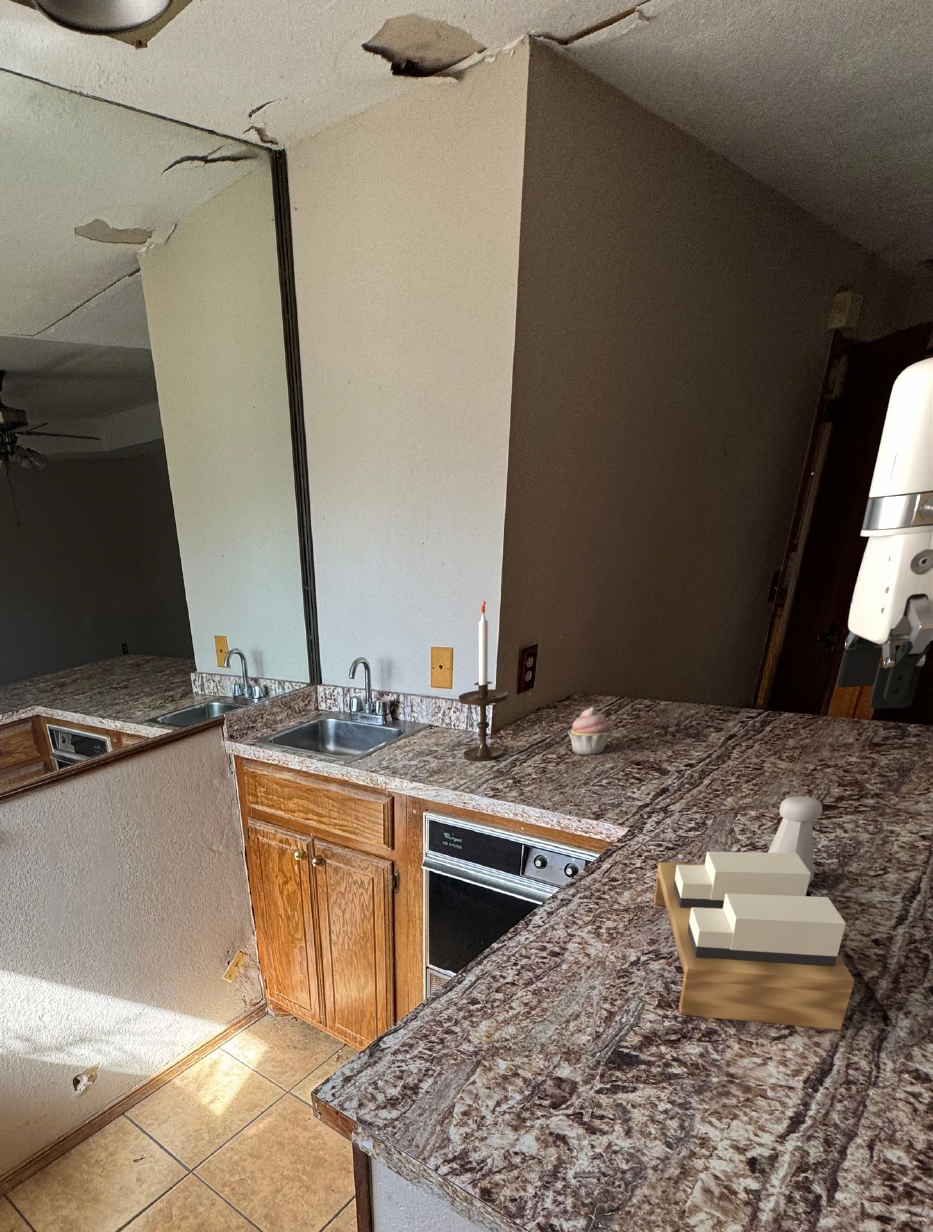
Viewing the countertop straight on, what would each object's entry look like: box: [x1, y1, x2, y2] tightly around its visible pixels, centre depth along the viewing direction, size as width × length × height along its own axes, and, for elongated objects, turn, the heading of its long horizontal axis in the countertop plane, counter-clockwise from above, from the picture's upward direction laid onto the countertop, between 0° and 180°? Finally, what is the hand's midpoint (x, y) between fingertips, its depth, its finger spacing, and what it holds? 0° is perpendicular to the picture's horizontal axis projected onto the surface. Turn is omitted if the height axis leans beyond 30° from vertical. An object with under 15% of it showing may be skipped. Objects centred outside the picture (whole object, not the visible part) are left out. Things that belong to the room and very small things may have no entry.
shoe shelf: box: [653, 861, 856, 1031], centre depth 81 cm, size 14×26×6 cm, turn 159°
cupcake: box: [567, 706, 614, 756], centre depth 154 cm, size 9×9×10 cm
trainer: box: [674, 851, 811, 909], centre depth 81 cm, size 12×6×5 cm, turn 69°
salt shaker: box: [767, 795, 823, 884], centre depth 90 cm, size 6×6×13 cm
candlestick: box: [458, 599, 509, 762], centre depth 156 cm, size 11×11×35 cm
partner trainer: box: [688, 893, 847, 966], centre depth 72 cm, size 12×6×5 cm, turn 69°
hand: (870, 696), depth 72 cm, fingers open, 9 cm apart
